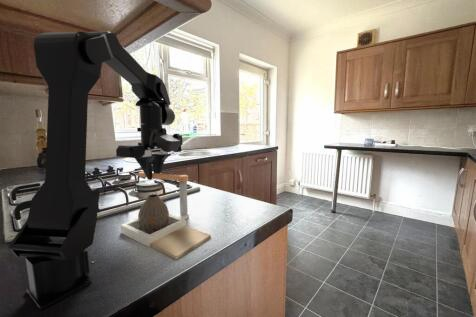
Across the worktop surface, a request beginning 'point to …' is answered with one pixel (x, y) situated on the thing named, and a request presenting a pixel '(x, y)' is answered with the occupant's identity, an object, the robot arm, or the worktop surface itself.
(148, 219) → the vase
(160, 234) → the socket
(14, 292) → the worktop surface
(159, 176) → the orange flat bar
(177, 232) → the mat
